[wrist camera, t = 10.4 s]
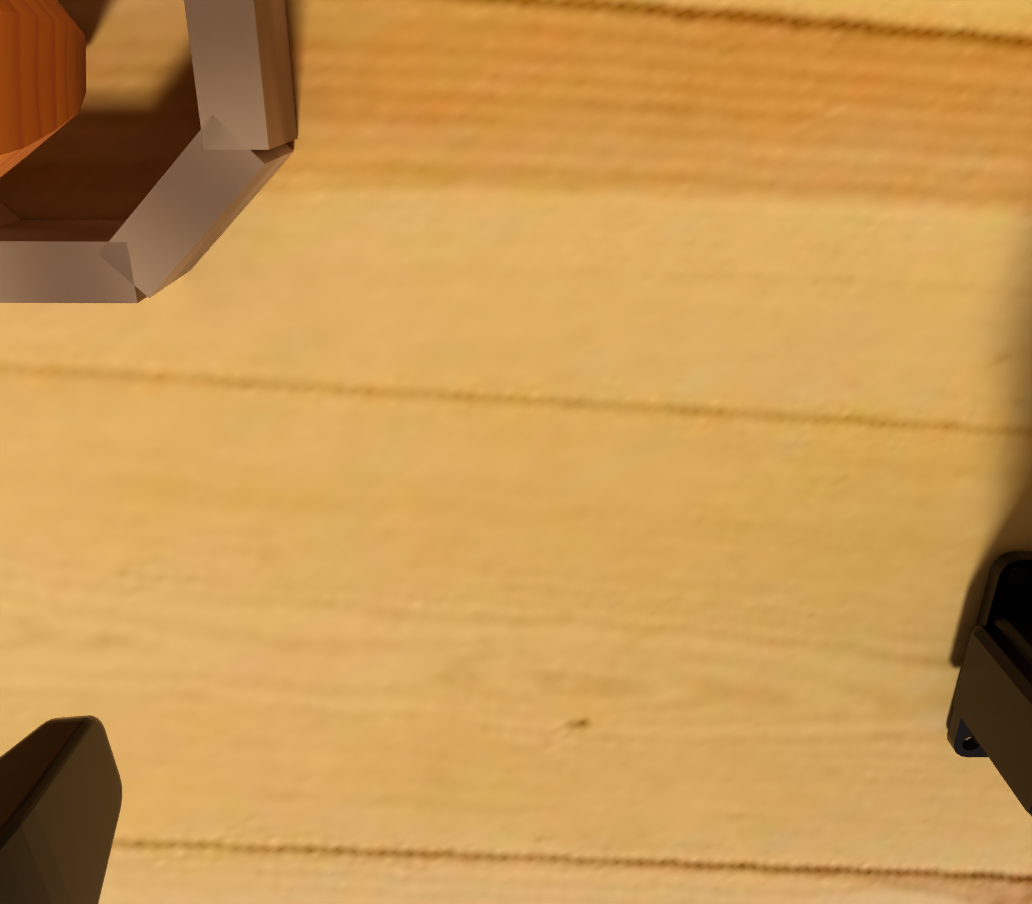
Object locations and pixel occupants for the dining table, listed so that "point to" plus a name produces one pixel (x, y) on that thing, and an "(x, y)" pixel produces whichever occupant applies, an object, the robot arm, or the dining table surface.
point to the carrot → (37, 75)
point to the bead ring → (174, 173)
